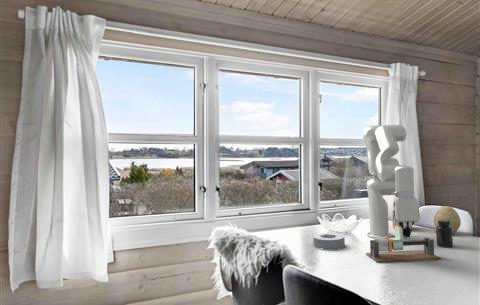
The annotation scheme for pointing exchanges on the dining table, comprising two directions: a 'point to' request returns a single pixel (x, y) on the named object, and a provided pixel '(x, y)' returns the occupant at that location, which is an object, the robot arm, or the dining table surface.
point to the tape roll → (329, 240)
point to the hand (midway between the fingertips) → (406, 236)
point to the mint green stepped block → (398, 239)
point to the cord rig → (401, 256)
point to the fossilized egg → (448, 217)
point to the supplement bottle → (444, 234)
